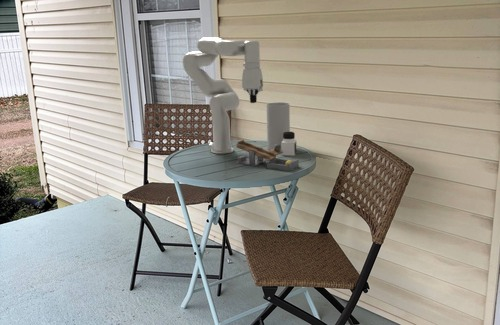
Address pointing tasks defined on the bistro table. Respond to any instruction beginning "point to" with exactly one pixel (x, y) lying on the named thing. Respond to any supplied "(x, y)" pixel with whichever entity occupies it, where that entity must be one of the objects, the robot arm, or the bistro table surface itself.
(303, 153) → the bistro table surface
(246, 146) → the lever
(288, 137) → the medicine bottle
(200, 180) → the bistro table surface
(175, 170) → the bistro table surface
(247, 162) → the stand
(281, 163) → the tray
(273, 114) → the cylinder vase
